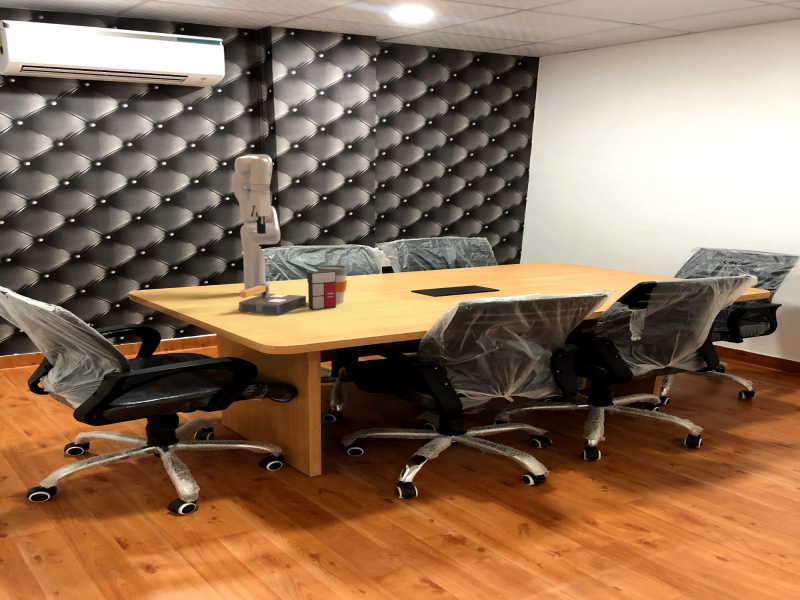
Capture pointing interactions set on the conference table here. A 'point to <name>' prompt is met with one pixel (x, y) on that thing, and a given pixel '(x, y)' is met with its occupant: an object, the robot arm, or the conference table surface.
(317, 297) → the grey and red box
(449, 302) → the conference table surface
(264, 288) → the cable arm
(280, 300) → the label
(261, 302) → the server box
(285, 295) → the label
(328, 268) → the reusable coffee cup
